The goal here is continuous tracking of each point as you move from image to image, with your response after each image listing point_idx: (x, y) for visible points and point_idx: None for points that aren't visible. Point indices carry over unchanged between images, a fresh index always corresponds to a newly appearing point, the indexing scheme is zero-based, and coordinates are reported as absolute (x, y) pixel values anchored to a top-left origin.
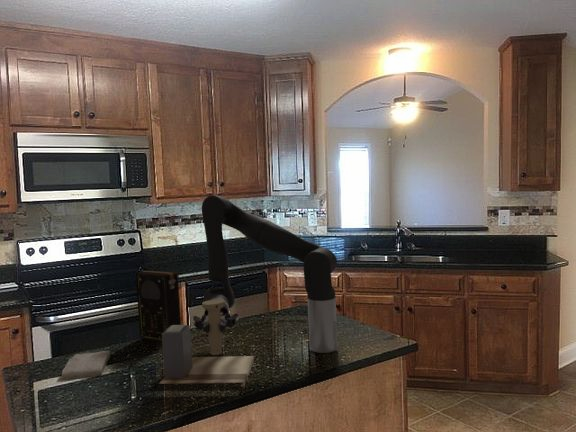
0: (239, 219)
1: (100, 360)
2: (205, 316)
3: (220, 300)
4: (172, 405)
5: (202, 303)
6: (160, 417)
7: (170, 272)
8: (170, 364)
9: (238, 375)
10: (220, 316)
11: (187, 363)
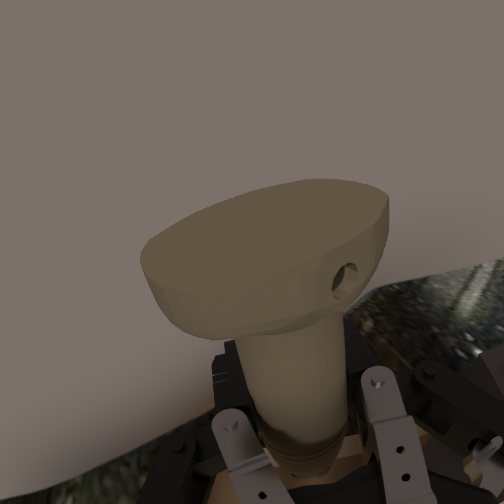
0: None
1: None
2: (457, 491)
3: (190, 257)
4: (371, 347)
5: (362, 184)
6: (365, 311)
7: None
8: None
9: (235, 496)
10: (269, 464)
11: (441, 471)
